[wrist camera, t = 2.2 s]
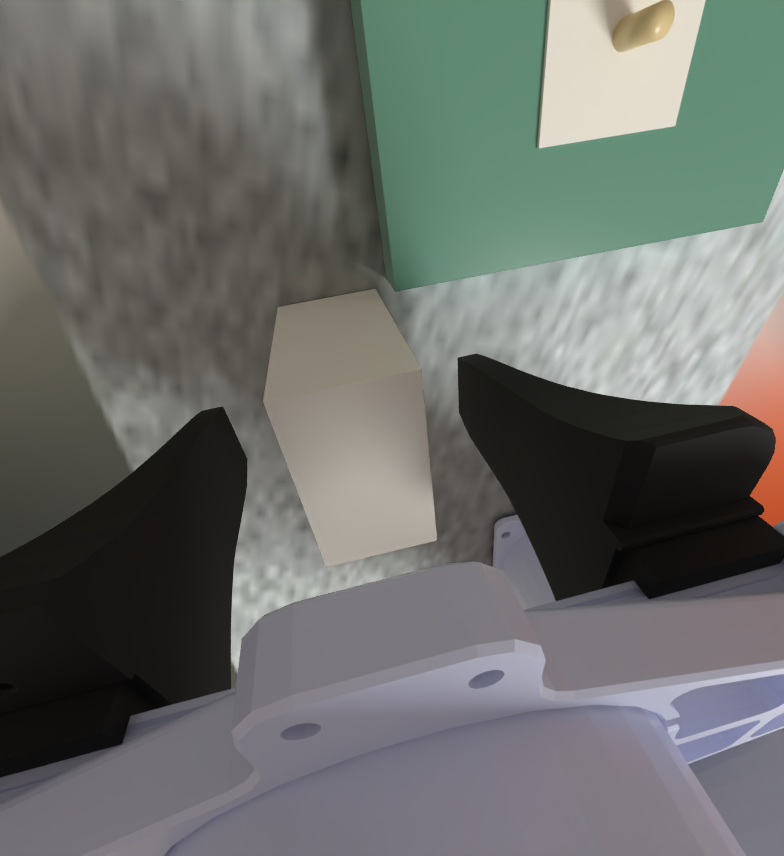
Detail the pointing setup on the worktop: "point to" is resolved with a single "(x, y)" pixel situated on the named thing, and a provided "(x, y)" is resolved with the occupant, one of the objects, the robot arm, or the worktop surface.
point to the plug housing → (352, 425)
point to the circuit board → (564, 126)
